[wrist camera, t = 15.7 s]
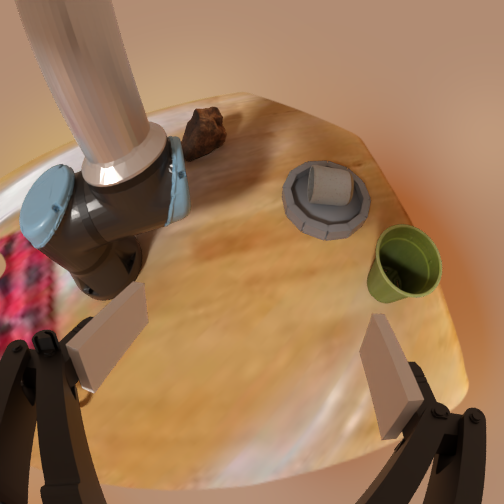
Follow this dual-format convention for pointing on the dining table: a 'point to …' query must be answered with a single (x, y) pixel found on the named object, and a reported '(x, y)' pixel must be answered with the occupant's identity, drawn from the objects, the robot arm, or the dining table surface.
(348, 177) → the ceramic mug
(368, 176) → the dining table surface
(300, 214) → the round tray
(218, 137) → the decorative rock
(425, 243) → the plant pot
